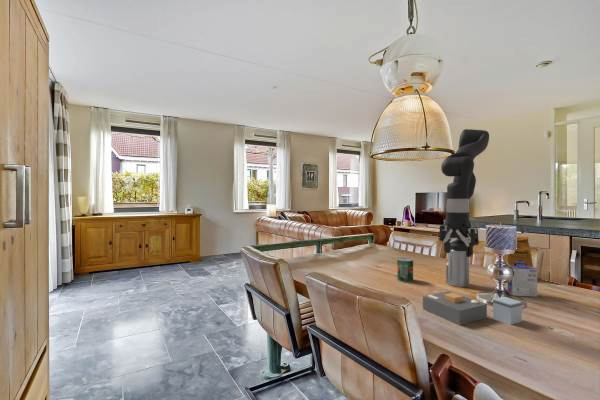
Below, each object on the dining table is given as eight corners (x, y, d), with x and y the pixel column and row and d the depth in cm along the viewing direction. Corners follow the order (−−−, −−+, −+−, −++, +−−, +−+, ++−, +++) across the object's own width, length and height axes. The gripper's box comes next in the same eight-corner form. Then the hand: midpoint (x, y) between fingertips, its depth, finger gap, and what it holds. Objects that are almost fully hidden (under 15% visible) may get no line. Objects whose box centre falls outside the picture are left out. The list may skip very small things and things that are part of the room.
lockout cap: (493, 318, 107) (493, 298, 107) (503, 315, 109) (503, 296, 109) (510, 325, 101) (510, 304, 101) (521, 321, 104) (521, 301, 104)
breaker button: (444, 306, 113) (444, 294, 113) (452, 305, 114) (452, 292, 114) (454, 311, 109) (454, 298, 108) (462, 309, 110) (462, 296, 110)
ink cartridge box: (531, 293, 133) (531, 260, 133) (538, 297, 128) (538, 263, 127) (506, 291, 135) (506, 260, 135) (512, 295, 130) (512, 262, 129)
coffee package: (534, 281, 150) (534, 238, 150) (505, 278, 156) (505, 236, 155) (529, 276, 159) (529, 235, 159) (501, 274, 165) (501, 234, 164)
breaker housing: (422, 308, 116) (422, 294, 116) (448, 303, 122) (448, 289, 122) (459, 325, 101) (459, 308, 101) (486, 318, 107) (486, 302, 107)
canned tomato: (415, 282, 151) (415, 260, 151) (400, 282, 151) (399, 260, 151) (410, 278, 159) (410, 257, 159) (395, 278, 159) (395, 257, 159)
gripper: (483, 211, 106) (483, 257, 106) (447, 210, 118) (447, 250, 118) (469, 212, 102) (469, 259, 102) (434, 210, 115) (434, 252, 115)
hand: (457, 254), depth 110 cm, fingers open, 8 cm apart
